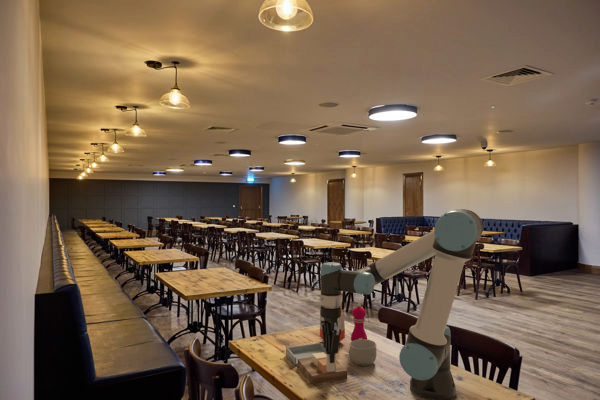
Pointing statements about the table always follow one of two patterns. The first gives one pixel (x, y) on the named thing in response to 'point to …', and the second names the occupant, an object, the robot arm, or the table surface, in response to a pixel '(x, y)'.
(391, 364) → the table surface
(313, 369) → the walnut board
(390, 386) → the table surface
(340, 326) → the french fries container
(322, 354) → the cream square block
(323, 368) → the orange square block
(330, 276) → the robot arm
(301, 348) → the tray
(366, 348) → the teacup
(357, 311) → the pepper mill
